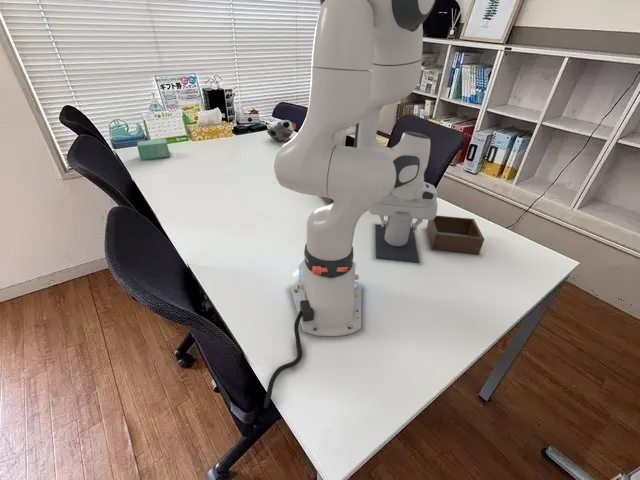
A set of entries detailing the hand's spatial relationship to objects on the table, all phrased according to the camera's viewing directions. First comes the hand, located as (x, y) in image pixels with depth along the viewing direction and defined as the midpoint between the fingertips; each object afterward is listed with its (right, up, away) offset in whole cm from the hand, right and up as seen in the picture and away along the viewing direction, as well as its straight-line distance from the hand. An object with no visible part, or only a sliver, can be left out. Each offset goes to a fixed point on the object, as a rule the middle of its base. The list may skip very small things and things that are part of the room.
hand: (398, 227), depth 105 cm
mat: (0, -5, +3) cm, 6 cm away
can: (0, -5, +3) cm, 6 cm away
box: (-108, +38, +61) cm, 130 cm away
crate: (+19, -4, +5) cm, 20 cm away
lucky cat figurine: (-48, +56, +92) cm, 118 cm away
